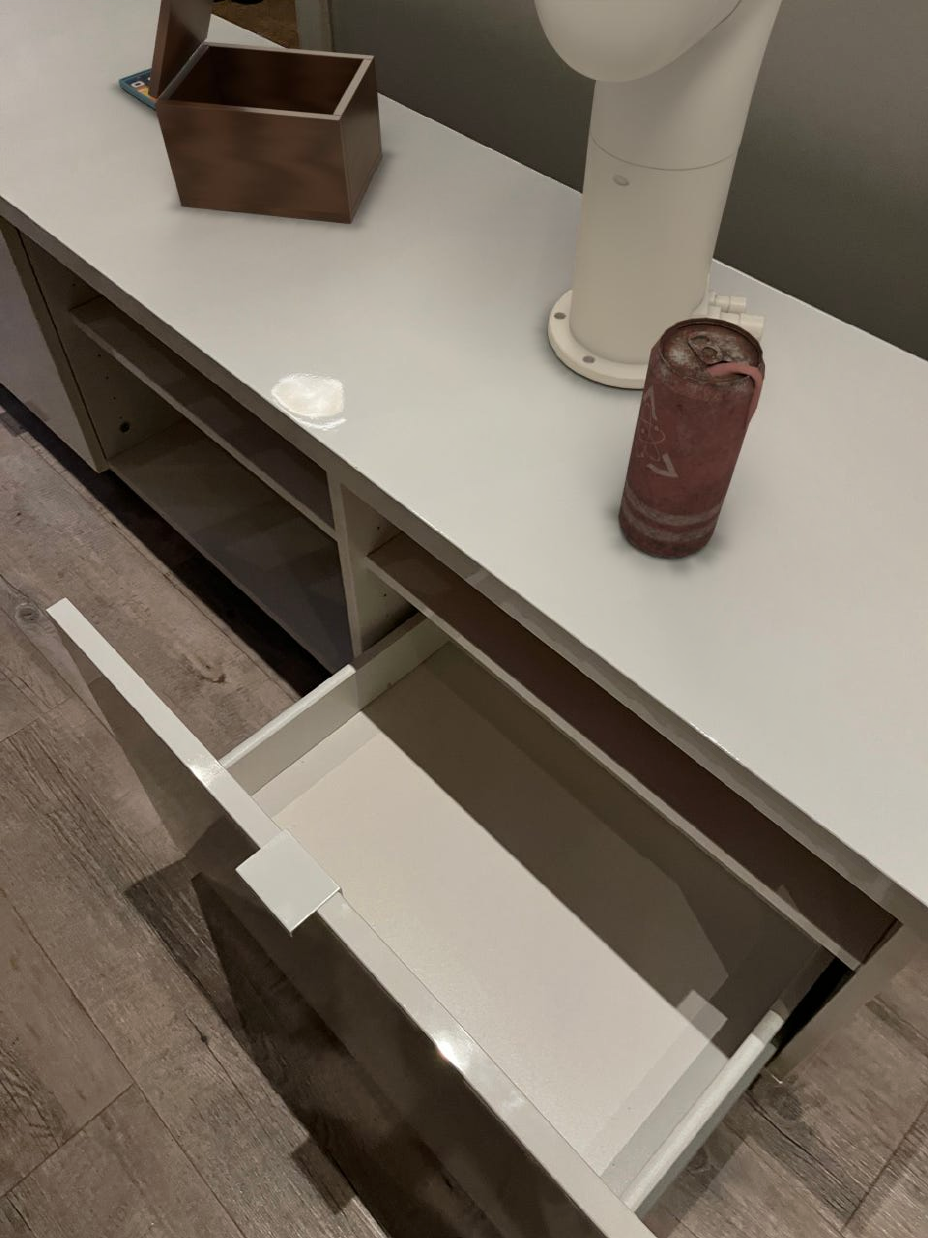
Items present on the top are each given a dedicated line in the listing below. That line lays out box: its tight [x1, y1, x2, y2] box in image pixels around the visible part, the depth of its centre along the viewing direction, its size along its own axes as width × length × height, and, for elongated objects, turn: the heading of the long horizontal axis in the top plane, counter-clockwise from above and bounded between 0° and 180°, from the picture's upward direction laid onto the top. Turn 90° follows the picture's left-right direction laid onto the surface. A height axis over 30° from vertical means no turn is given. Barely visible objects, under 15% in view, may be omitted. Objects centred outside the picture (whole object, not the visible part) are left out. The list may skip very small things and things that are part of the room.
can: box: [617, 318, 766, 559], centre depth 54 cm, size 6×6×14 cm
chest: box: [154, 41, 383, 224], centre depth 81 cm, size 16×12×9 cm
